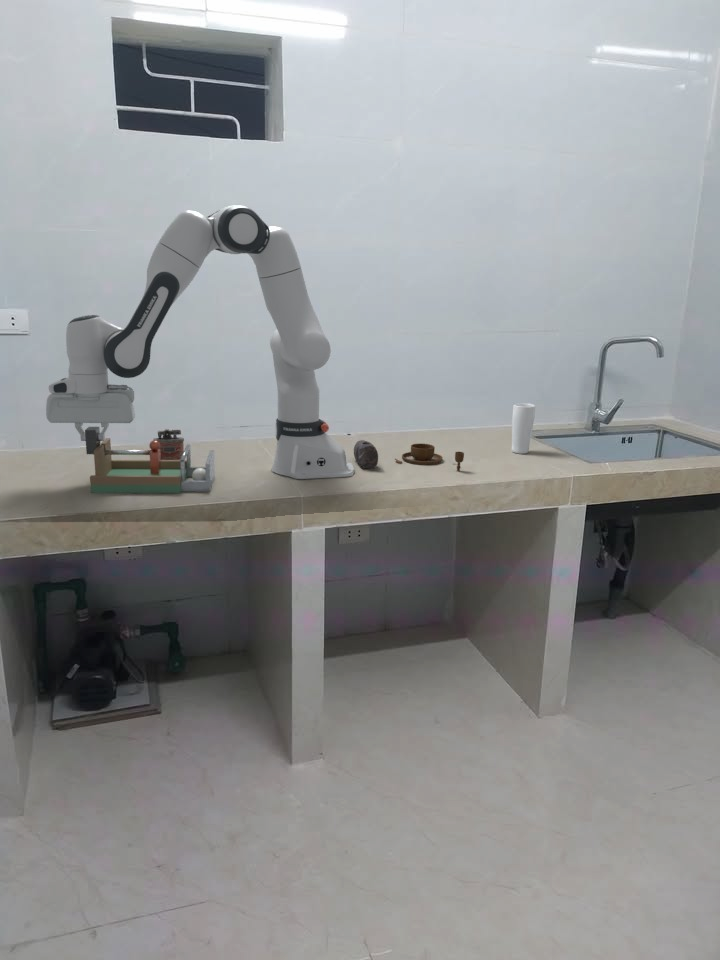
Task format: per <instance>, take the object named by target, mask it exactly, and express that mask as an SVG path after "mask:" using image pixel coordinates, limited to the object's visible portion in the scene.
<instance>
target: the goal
mask: <svg viewBox="0 0 720 960" xmlns="http://www.w3.org/2000/svg"><path fill="white" fill-rule="evenodd" d="M185 460H187V478H192V474H193V472H194V470H196V469H197V468H203V469H205V470H206V481H194V480H186V481H185ZM180 467H181V493H183V492H193V493H194V492H196V493H197V492H199V493H200V492H202V493H204V492H205V493H206V492H209V493H210V492H211V490H212V487H213V483H214V480H215V477H216V475H215V473H216V472H215V450H213V449H210V450H209V452H208V455H207V459H206V461H205V464H204V466H192V459H191V444H189V443H188V444H187V445H185V448H184V452H183V454H182V456H181V458H180Z"/></svg>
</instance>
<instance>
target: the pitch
mask: <svg viewBox="0 0 720 960" xmlns="http://www.w3.org/2000/svg"><path fill="white" fill-rule="evenodd" d="M111 446H112V444H111V438H110V437H109V438H107V437H105V440H104V441H101V442H100V445H99V446H98V447H97V448H96V449H95V450H94V455H93V459H94V472H95V473H94V475H90V476H89V481H90V493H91V494H96V493H97V494H99V493H100V494H106V493H107V494H113V493H115V494H131V493H132V494H139V493H140V494H142V493H143V494H160V493H161V494H167V493H168V494H173V493H174V494H175V493H176V494H177V493H178V494H181V493H182V492H181V467H180V460H161V471H160V473H159V474H151V472H150V459H112V455H104V450H112V447H111ZM187 478H188V477H187V459H185V481H187Z"/></svg>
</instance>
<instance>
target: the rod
mask: <svg viewBox="0 0 720 960" xmlns="http://www.w3.org/2000/svg"><path fill="white" fill-rule="evenodd" d="M84 432H85V438H86V441H85V448H86V449H85V450H86V451H85V453H86V455H93V456H94V450H95V449H96V448H97V447H98V446H99V445H101V441H98V440H97V438H98V437H97V434H98V433H101V432H100V426H88V427H87V428H86V429H84ZM148 446H149V449H111V450H104V455H111V456H149V460H150V472H151V474H159V473H160V471H161V453H160V449H159V448H160V443H159V442H158V441H156V440H152V441H150V443H149V445H148Z"/></svg>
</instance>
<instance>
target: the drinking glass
mask: <svg viewBox="0 0 720 960" xmlns="http://www.w3.org/2000/svg"><path fill="white" fill-rule="evenodd" d="M512 406H513V407H512V413H511V452H512V453H514V454H519V455H526V454H528V453H529V451H530V444H531V438H532V432H533V429H534V423H535V418H536V417H535V416H536V405H535V404H532V403H527V402H525V403H524V402H519V403H518V402H517V403H514V404H513V405H512Z"/></svg>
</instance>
